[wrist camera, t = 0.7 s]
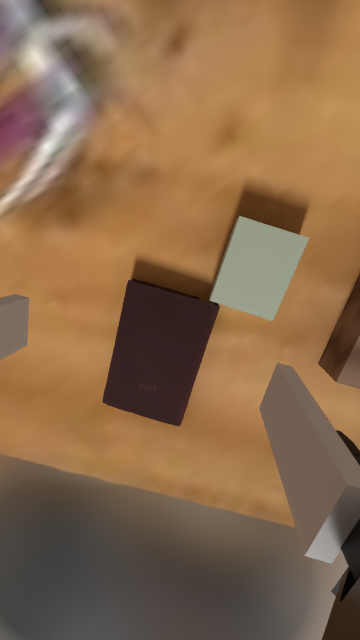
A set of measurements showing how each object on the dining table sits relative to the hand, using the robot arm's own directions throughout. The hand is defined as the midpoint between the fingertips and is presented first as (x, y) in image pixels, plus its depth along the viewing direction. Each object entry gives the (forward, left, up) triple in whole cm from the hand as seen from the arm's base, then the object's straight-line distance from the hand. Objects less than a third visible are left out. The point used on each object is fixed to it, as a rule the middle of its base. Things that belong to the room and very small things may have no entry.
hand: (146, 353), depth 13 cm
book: (+10, -1, -23) cm, 25 cm away
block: (-5, +8, -22) cm, 24 cm away
